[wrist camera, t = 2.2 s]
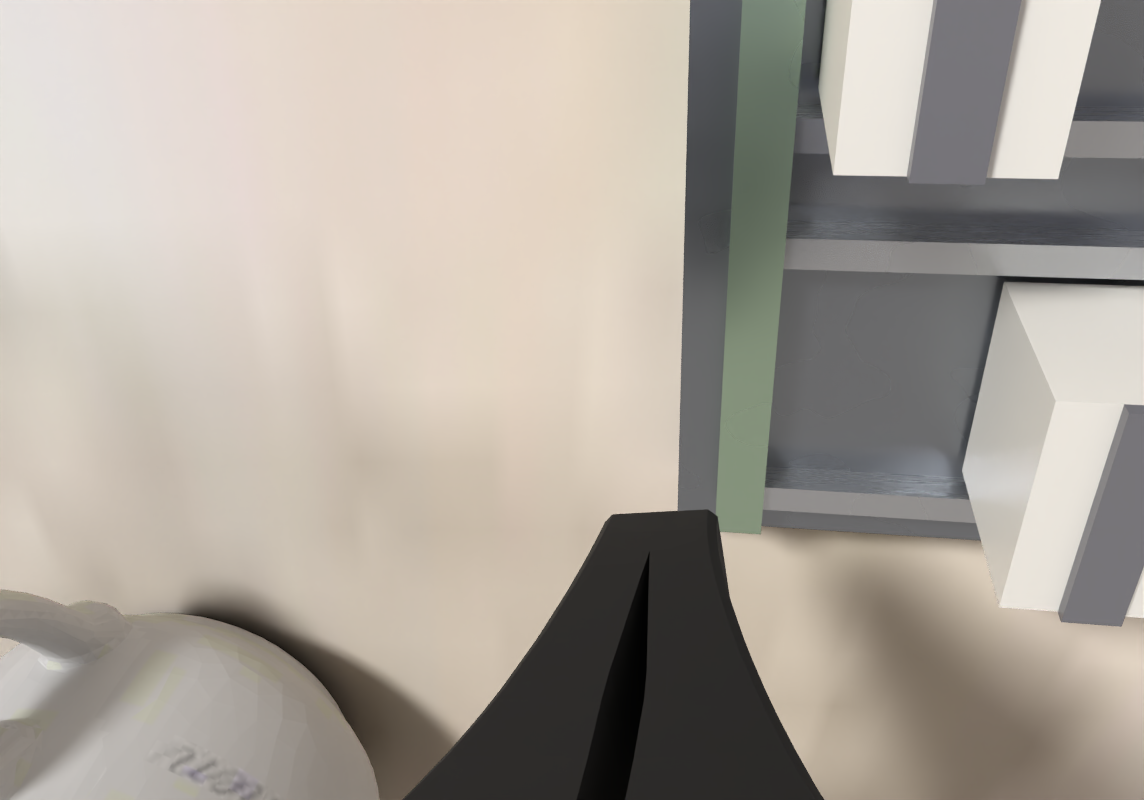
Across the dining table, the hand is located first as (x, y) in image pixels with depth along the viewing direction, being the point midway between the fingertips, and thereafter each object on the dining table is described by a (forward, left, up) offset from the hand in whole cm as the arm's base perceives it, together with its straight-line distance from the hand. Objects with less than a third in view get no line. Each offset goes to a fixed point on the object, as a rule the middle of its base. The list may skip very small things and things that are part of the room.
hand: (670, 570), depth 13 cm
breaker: (-3, -7, -5) cm, 9 cm away
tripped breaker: (-6, 0, -5) cm, 8 cm away
